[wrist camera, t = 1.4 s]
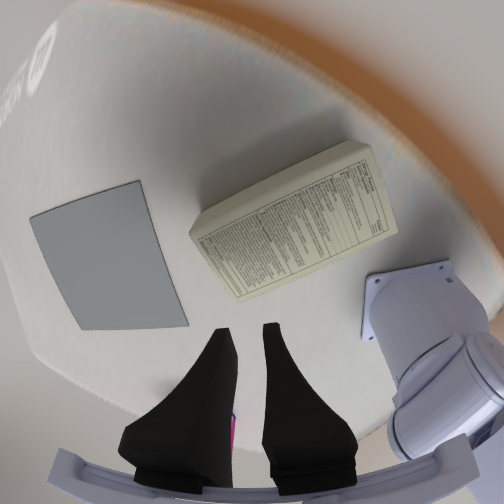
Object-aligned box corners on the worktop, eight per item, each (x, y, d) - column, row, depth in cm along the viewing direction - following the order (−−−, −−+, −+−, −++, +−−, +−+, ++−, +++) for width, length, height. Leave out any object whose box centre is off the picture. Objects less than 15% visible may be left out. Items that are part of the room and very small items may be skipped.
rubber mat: (140, 181, 19) (139, 181, 19) (189, 325, 25) (188, 326, 25) (30, 218, 21) (28, 219, 20) (82, 328, 27) (81, 330, 27)
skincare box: (238, 274, 23) (376, 213, 20) (234, 308, 19) (401, 235, 16) (198, 209, 20) (348, 137, 18) (183, 232, 16) (372, 143, 14)
